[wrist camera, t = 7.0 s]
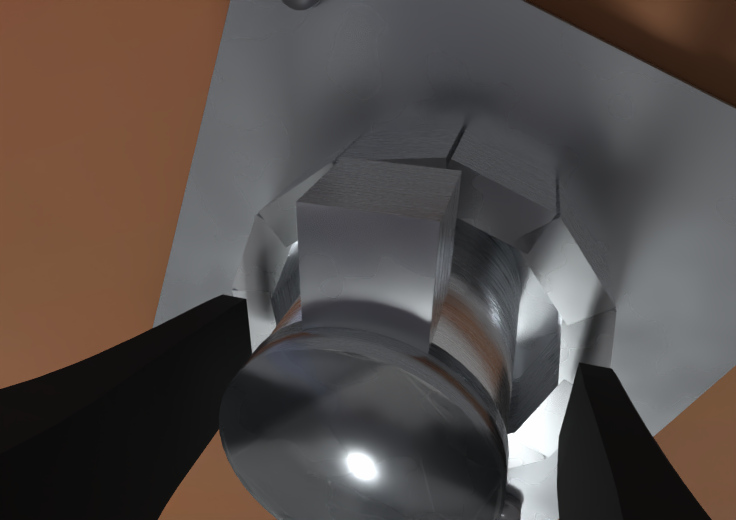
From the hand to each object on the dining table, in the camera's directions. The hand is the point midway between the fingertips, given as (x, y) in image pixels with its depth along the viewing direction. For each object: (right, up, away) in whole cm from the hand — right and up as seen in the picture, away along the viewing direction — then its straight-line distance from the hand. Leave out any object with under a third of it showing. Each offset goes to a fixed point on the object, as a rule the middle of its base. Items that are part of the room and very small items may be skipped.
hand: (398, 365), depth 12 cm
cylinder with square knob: (+1, +2, +2) cm, 3 cm away
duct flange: (+1, +2, +3) cm, 3 cm away
